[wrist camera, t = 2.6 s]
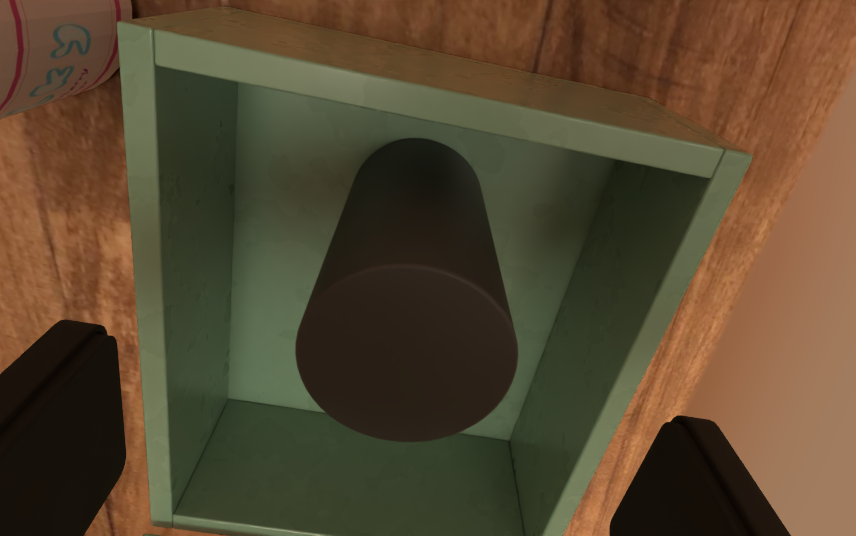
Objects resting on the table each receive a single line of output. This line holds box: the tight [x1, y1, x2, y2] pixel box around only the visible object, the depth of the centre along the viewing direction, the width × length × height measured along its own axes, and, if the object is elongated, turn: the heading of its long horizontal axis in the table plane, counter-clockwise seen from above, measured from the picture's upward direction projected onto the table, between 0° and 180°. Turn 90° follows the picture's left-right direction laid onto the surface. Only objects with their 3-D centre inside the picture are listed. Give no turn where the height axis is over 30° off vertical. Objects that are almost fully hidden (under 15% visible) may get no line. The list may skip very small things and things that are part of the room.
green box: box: [117, 6, 753, 536], centre depth 17 cm, size 15×13×6 cm
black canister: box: [295, 138, 518, 442], centre depth 14 cm, size 4×4×8 cm
